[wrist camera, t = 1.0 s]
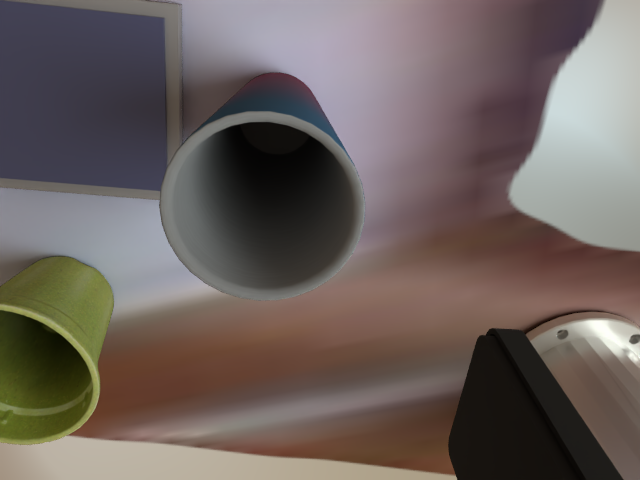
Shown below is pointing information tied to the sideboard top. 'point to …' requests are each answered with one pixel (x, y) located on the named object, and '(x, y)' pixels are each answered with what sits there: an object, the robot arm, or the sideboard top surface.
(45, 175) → the ink pad
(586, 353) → the robot arm
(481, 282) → the sideboard top surface
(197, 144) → the cup
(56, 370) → the plant pot
